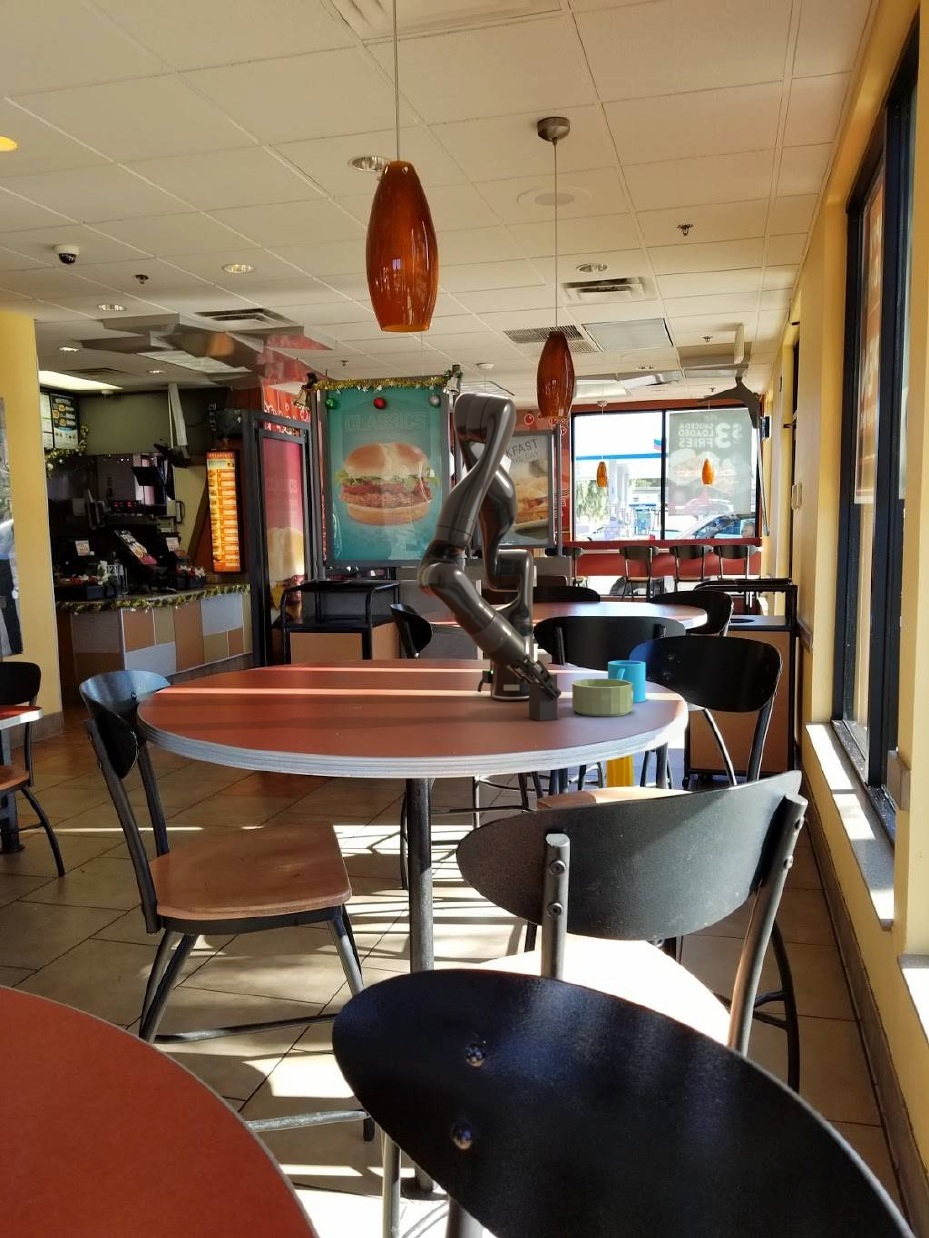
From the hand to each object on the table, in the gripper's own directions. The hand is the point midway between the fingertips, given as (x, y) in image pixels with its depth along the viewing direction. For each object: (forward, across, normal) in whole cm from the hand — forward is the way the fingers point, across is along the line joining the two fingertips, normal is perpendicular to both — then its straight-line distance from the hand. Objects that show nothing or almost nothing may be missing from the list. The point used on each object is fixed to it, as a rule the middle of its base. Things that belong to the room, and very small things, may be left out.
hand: (551, 694), depth 184 cm
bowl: (+12, 0, -5) cm, 13 cm away
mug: (+20, +9, -13) cm, 26 cm away
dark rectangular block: (+2, 0, +5) cm, 5 cm away
